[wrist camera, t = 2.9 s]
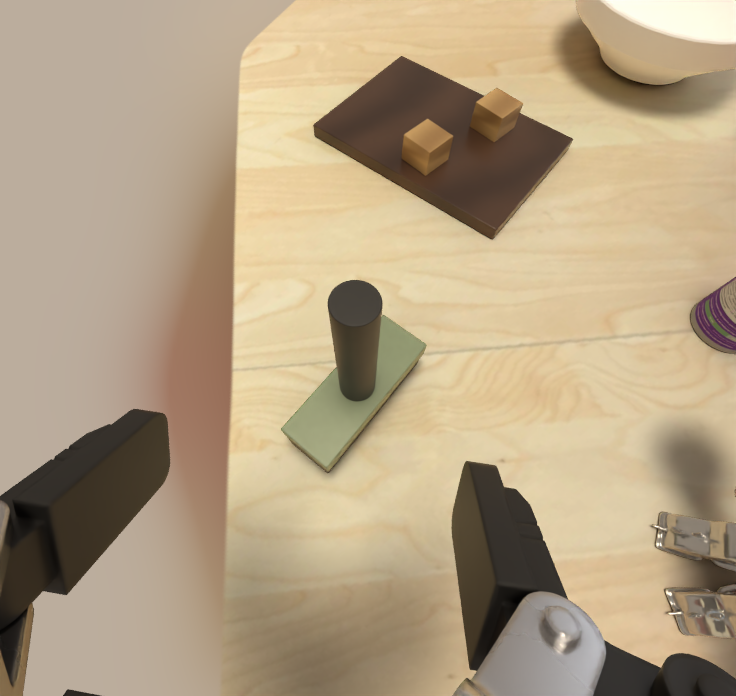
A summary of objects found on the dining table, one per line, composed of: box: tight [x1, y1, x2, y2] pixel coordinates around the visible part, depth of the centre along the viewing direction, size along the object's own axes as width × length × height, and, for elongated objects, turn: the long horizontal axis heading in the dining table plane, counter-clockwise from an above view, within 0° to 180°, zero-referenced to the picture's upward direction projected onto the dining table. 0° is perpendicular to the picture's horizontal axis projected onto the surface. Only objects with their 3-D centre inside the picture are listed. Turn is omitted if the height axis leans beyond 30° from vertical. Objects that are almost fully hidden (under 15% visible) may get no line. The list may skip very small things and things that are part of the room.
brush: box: [281, 280, 426, 473], centre depth 22 cm, size 4×10×13 cm, turn 142°
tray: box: [313, 56, 573, 239], centre depth 38 cm, size 20×14×1 cm
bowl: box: [576, 0, 736, 85], centre depth 42 cm, size 20×20×7 cm
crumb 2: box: [470, 88, 523, 142], centre depth 37 cm, size 3×3×2 cm
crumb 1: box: [401, 119, 453, 176], centre depth 35 cm, size 3×3×2 cm
